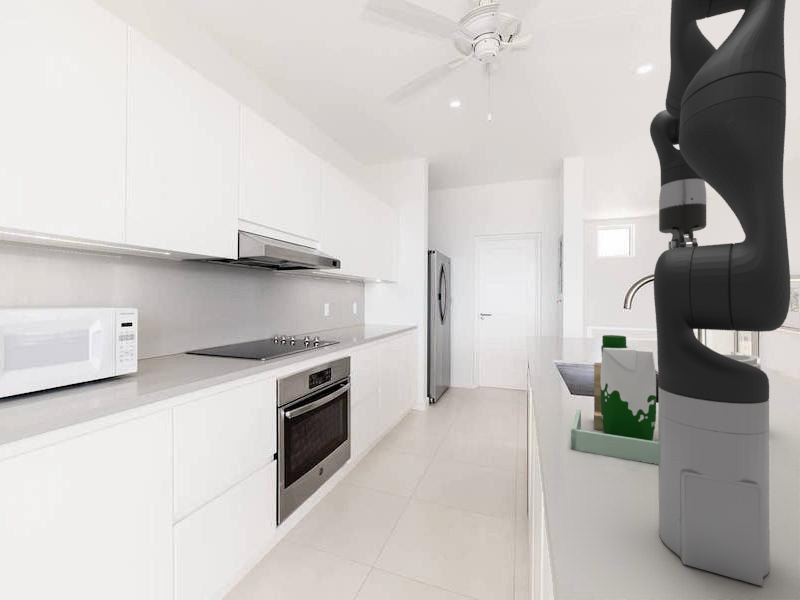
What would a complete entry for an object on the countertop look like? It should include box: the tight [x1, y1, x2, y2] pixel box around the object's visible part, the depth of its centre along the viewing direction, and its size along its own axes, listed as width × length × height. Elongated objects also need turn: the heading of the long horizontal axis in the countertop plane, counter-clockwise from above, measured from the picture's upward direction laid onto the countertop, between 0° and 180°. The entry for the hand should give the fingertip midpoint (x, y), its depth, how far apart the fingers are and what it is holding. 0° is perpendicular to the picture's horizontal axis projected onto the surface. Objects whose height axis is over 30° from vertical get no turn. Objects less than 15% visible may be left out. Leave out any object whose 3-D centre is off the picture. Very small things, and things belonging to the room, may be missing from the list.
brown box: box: [593, 362, 604, 432], centre depth 77 cm, size 7×10×13 cm
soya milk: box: [600, 334, 657, 441], centre depth 71 cm, size 9×9×20 cm
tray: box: [570, 409, 659, 466], centre depth 68 cm, size 14×19×4 cm
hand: (682, 293), depth 73 cm, fingers closed
